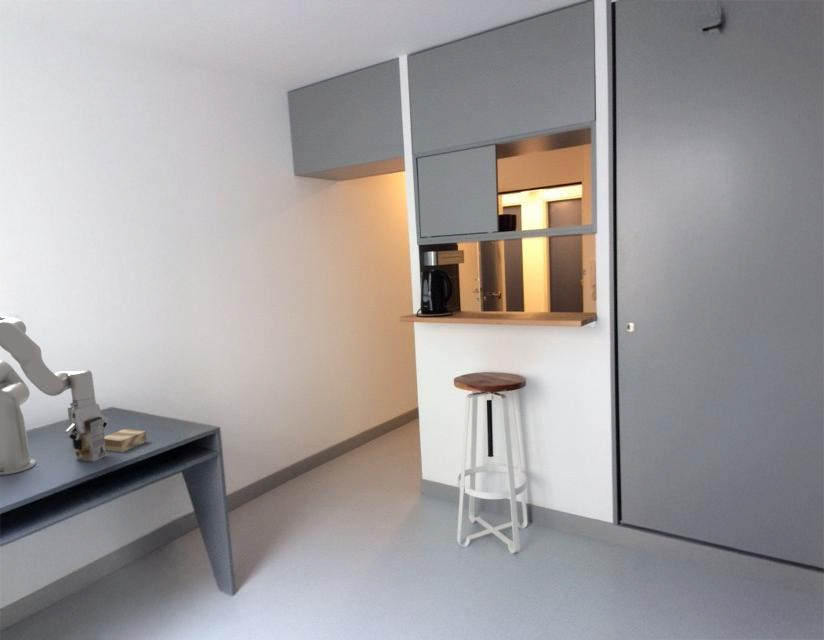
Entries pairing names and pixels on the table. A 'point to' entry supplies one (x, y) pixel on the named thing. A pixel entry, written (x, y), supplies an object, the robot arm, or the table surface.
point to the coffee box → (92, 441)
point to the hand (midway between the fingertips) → (89, 444)
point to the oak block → (124, 439)
